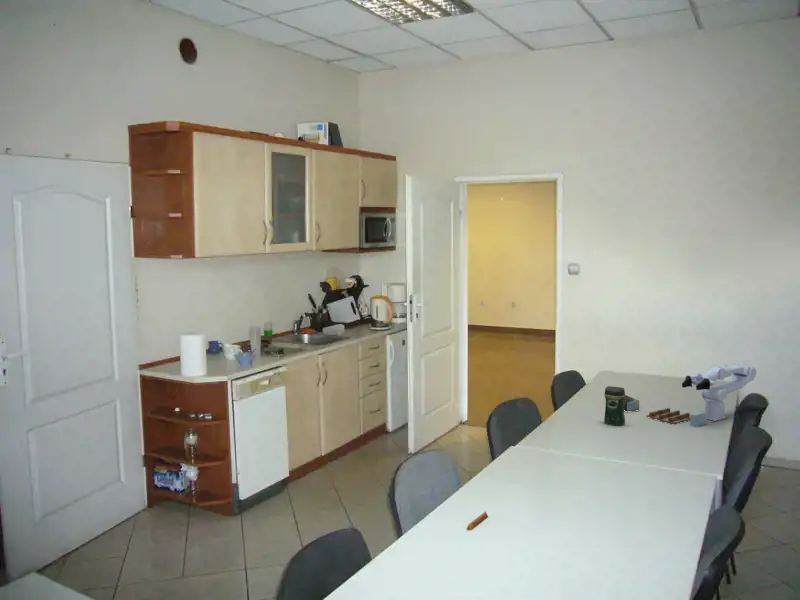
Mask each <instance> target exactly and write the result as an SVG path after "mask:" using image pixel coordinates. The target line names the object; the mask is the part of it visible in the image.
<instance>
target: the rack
mask: <svg viewBox="0 0 800 600" xmlns="http://www.w3.org/2000/svg"><path fill="white" fill-rule="evenodd" d="M680 413H681V411H680V410H679V409H678V410H674V411H671V408H670V407H666V408H661V409H658V410H653V411H650V412H649V413H648V414H647V415H646V417H650V418H653V419H652V420H654V419H657V420H660V421H659V422H661V421H663V422H662V423H665V422H667V423H666V424H668V423H670V424H669V425H672V424H675V425H678V424H677V423H679V424H681V423H680V422H683V423H685V422H684V421H686V422H689V421H688V420H690V414H691V413H690V412H686V413H681V414H680ZM646 417H645V418H646ZM650 418H649V419H650ZM657 420H656V421H657Z"/></svg>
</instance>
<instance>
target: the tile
mask: <svg viewBox="0 0 800 600" xmlns="http://www.w3.org/2000/svg"><path fill="white" fill-rule="evenodd" d="M706 413H707V412H705V411H703V410H702V411H699V412H694V413H690V421H689V422H690V423H689V424H690V425H689V426H690V427H692V426H693V427H692V428H697V427H696V426H698V427H701V426H704V424H705V425H707V419H706ZM700 425H701V426H700Z"/></svg>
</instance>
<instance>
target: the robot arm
mask: <svg viewBox="0 0 800 600" xmlns="http://www.w3.org/2000/svg"><path fill="white" fill-rule="evenodd" d="M756 375H757V370H756V367H754V366H749V365H748V366H747V365H746V366H745V365H740V364H734V365H732V366H729V365H728V364H723V366H721V365H719V366H718V367H717V366H716V367H715V366H710V367H709V369H707V370H706V371H705V372H703V373H697V375H694V376H691V375H686V376H685V379H684V381H683V382H682V383H681V387H682V388H688V387H690V388H692V387H693V385H695V388H696V390H697V391H701V397H702V399H703V401H704V412H707V413H706V420H709V421H714V422H716V421H720V420H724V419H726V418H727V417H726V415H725V411H726V409H725V408H726V404H725V403H724V400H725V399H727V396H728V395H729V394H731V393H734V392H737V391H739V390H741V389H743V388H745V387H746V385H747V384H748V383H750V382H751V381H754V380H755V378H756ZM728 377H731V380H729V381H727V382H724V383H721V384H720V385H717V386H715V382H716V381H717V380H721V381H724V380H725V378H728Z"/></svg>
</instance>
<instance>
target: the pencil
mask: <svg viewBox="0 0 800 600" xmlns="http://www.w3.org/2000/svg"><path fill="white" fill-rule="evenodd" d="M488 518H489V515H488V513H487V511H484V512H483V513H482V514H480V515H479V516H477V517H476V518H475V519H474V520H472V521H471V522H470V523H469V524H468V525H467V526H466V528H465V529H466V530H469V531H473V530H474V529H475V528H477V527H478V526H479V525H480V524H482V523H483V522H484V521H485V520H487V519H488Z"/></svg>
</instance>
